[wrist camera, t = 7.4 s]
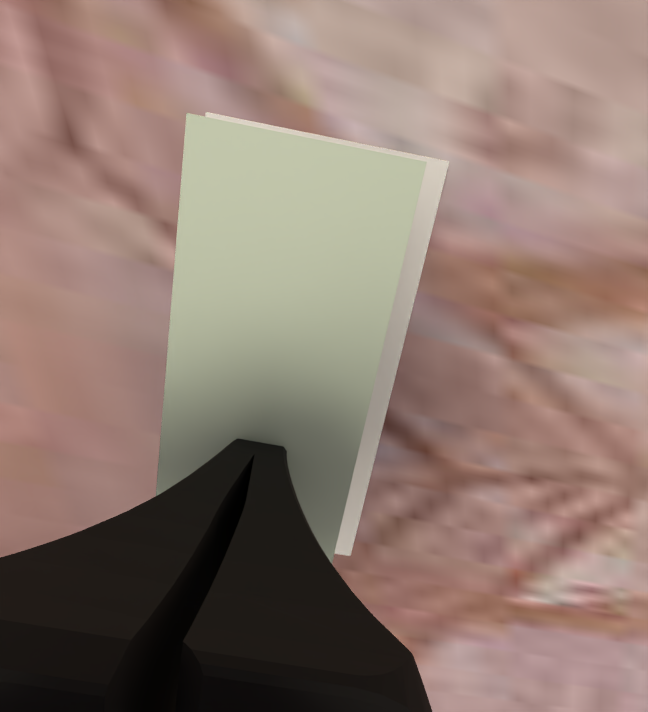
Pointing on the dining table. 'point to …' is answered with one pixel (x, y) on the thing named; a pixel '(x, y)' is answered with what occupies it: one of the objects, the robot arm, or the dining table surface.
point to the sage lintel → (282, 303)
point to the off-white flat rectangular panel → (396, 326)
